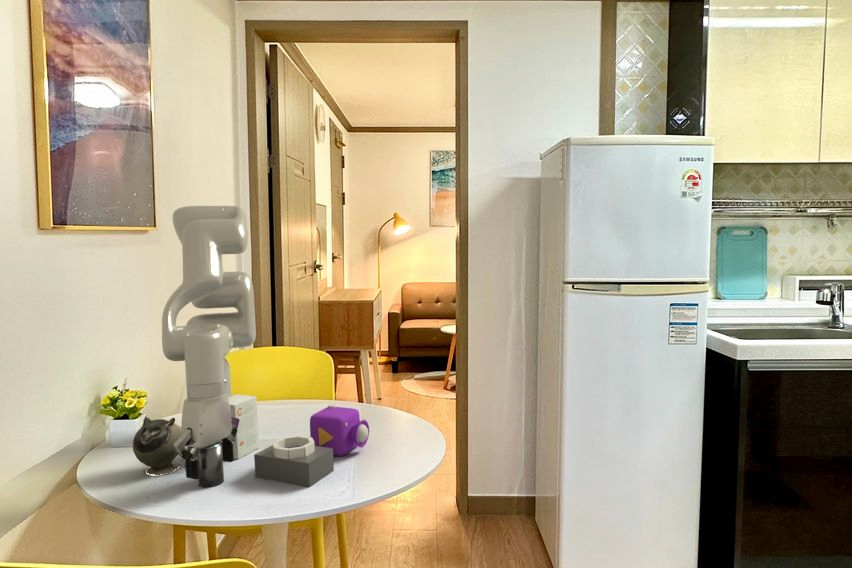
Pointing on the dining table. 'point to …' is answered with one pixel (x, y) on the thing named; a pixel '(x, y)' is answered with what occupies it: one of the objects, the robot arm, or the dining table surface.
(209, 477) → the lens
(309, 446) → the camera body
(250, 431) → the small box
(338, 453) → the toy camera
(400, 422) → the dining table surface
